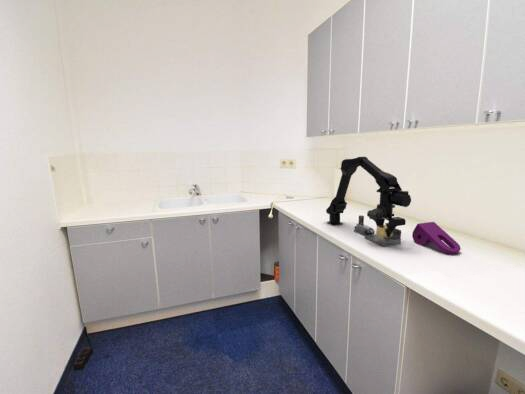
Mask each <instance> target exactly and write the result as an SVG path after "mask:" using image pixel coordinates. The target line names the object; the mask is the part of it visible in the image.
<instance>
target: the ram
mask: <svg viewBox="0 0 525 394" xmlns="http://www.w3.org/2000/svg"><path fill="white" fill-rule="evenodd" d="M364 221H365V216H364V215H358V223H356V225H355V226H358V227H360V228H363V229H365V230H366V233H371V232H372V233H374V234H375V232H376V231H375V230H374V231H373V230H372V229H373V227H371V226H368V225H366V224H364V223H365V222H364Z"/></svg>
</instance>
